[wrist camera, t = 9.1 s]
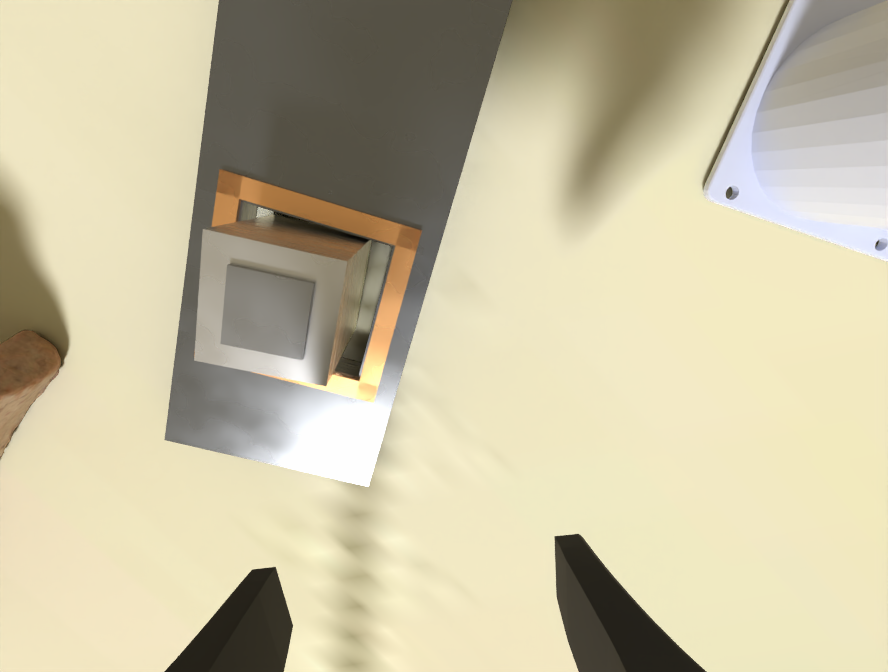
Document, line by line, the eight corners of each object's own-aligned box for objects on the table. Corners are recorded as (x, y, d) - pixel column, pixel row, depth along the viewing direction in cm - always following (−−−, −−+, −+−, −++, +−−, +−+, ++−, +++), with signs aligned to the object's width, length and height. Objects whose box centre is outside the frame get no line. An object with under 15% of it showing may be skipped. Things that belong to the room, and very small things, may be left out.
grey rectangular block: (372, 237, 18) (345, 262, 13) (355, 328, 20) (324, 389, 14) (273, 214, 18) (199, 229, 12) (263, 308, 19) (190, 363, 13)
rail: (624, -390, 13) (652, -471, 11) (372, 467, 22) (367, 489, 20) (314, -548, 12) (296, -662, 10) (182, 422, 21) (162, 442, 19)
